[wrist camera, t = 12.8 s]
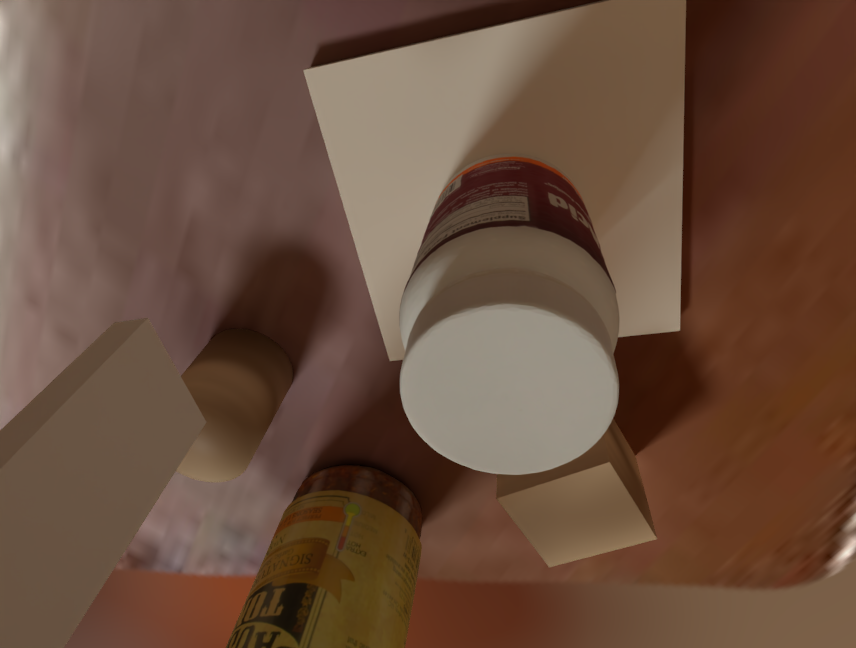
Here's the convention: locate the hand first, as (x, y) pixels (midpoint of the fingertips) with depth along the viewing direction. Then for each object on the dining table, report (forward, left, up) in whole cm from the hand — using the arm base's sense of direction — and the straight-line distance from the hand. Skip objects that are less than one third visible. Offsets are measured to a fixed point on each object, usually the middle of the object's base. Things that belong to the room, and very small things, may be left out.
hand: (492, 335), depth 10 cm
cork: (+6, -11, -9) cm, 15 cm away
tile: (+1, 0, -9) cm, 8 cm away
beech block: (+11, +1, -9) cm, 14 cm away
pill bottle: (+1, 0, -8) cm, 8 cm away
